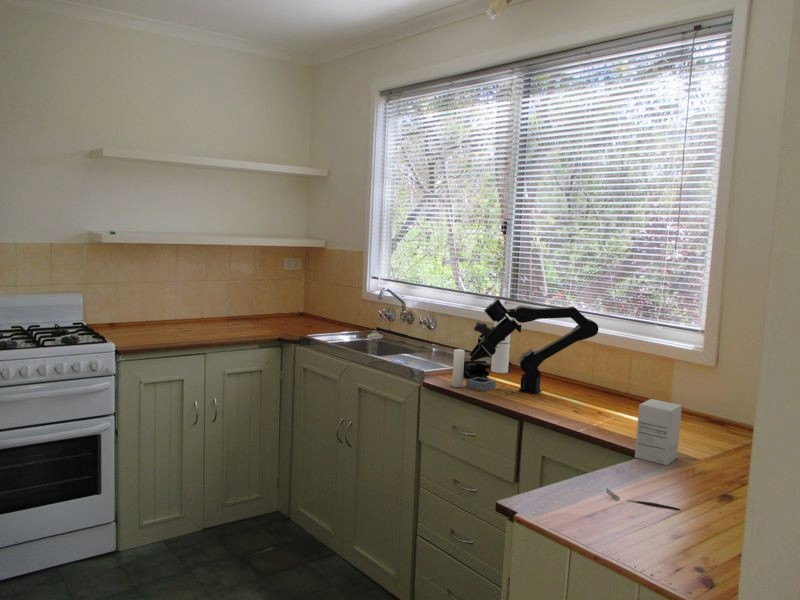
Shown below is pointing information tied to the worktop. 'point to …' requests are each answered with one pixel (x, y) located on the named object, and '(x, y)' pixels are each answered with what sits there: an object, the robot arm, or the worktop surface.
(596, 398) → the worktop surface
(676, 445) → the supplement box
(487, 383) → the square frame
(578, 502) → the worktop surface
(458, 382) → the white tapered peg
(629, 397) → the worktop surface
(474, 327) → the robot arm
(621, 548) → the worktop surface
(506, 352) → the cylindrical container
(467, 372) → the end cap
